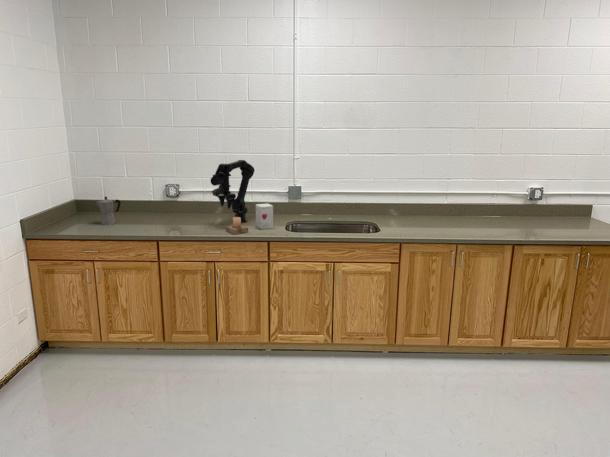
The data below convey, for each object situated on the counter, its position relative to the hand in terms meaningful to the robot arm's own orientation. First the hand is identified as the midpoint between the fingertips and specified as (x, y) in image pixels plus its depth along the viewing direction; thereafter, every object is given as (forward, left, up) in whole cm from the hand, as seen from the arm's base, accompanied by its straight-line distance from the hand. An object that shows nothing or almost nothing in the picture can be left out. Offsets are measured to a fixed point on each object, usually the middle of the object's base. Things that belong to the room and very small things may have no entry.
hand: (225, 207), depth 300 cm
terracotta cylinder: (+1, +17, -10) cm, 19 cm away
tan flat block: (+1, +17, -12) cm, 21 cm away
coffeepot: (+60, -50, -13) cm, 79 cm away
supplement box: (-19, +17, -13) cm, 28 cm away
